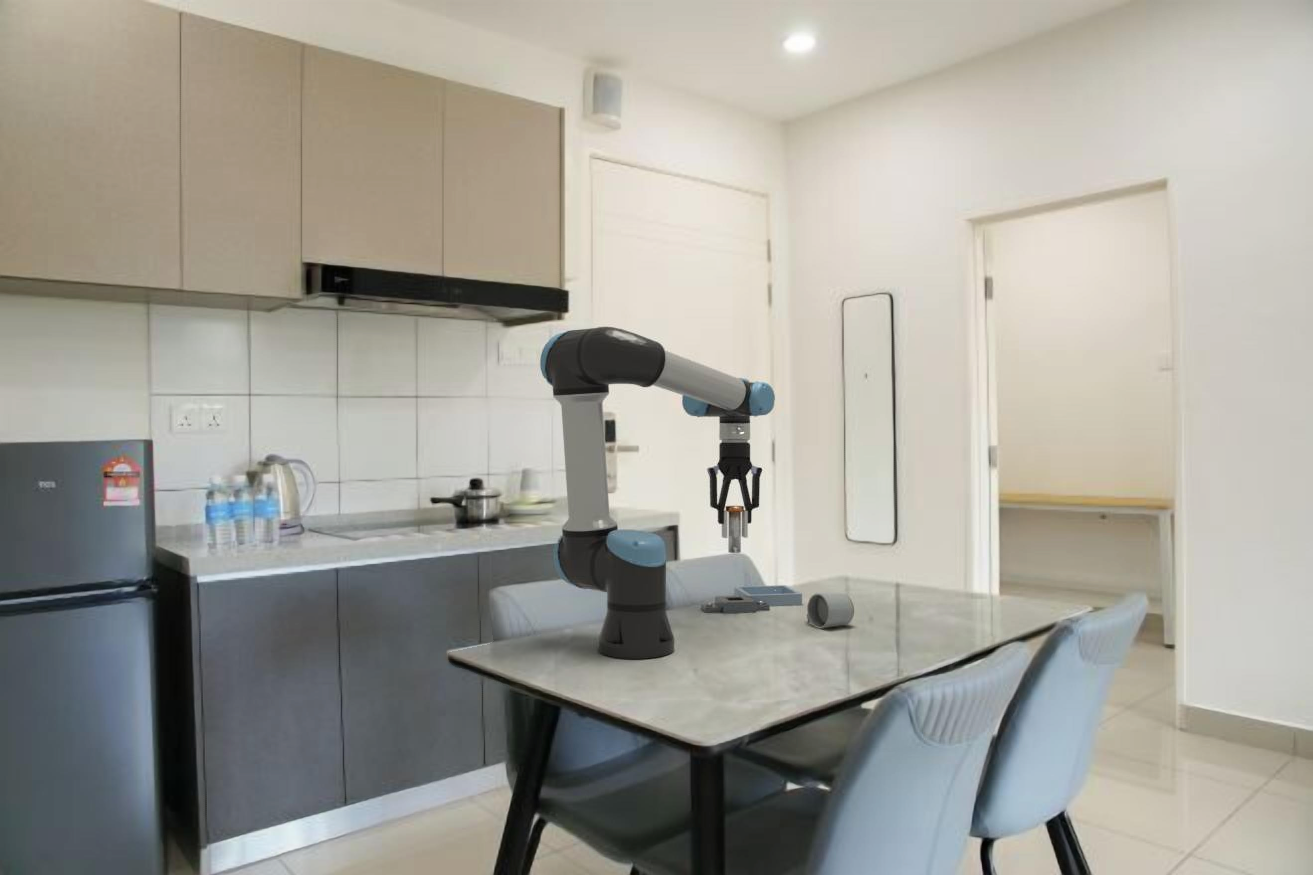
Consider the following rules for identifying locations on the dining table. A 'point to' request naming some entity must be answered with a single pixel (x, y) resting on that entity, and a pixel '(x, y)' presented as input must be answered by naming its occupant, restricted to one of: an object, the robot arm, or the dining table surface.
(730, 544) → the pin
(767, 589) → the tray
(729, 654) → the dining table surface
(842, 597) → the ceramic mug
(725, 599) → the grey holder base
